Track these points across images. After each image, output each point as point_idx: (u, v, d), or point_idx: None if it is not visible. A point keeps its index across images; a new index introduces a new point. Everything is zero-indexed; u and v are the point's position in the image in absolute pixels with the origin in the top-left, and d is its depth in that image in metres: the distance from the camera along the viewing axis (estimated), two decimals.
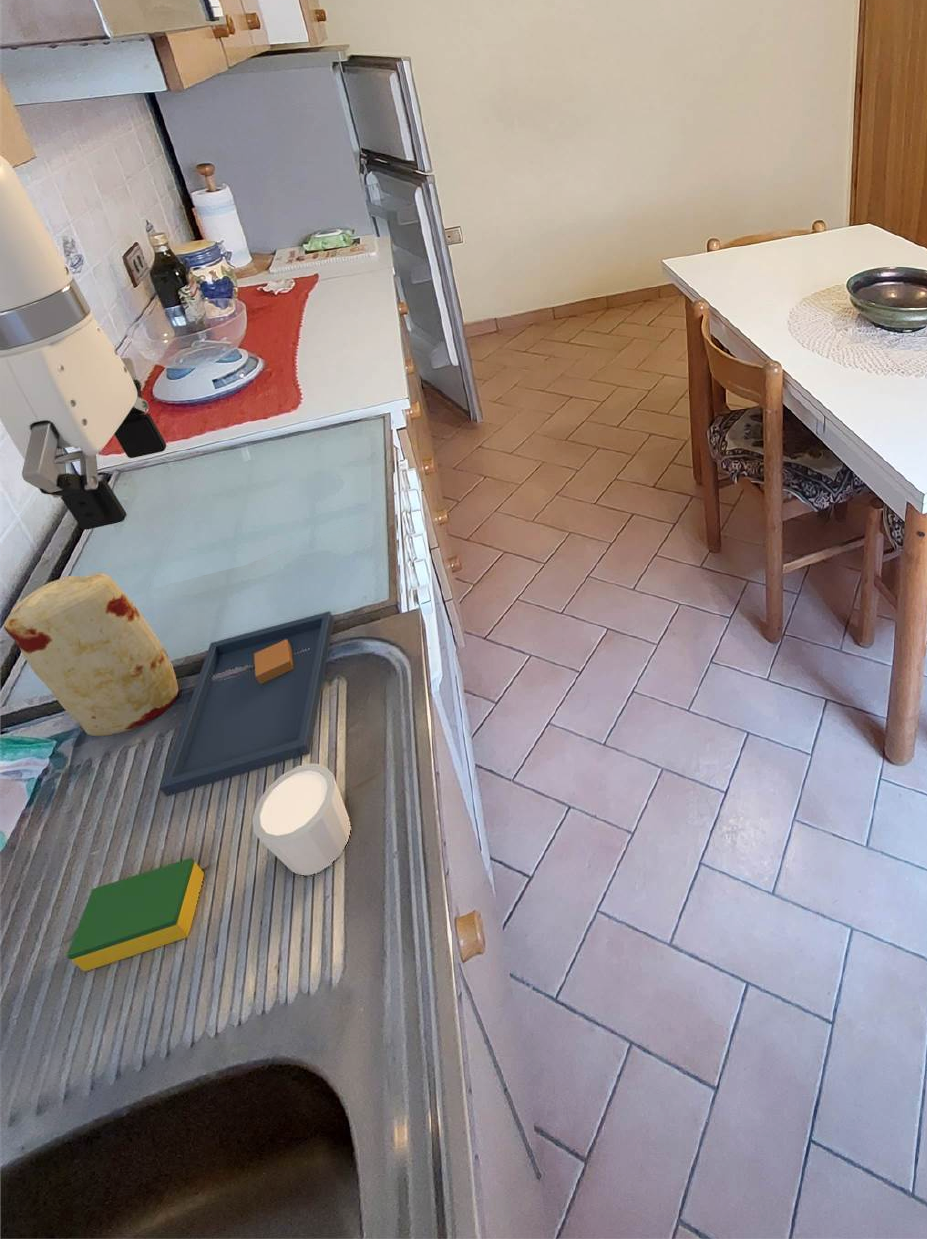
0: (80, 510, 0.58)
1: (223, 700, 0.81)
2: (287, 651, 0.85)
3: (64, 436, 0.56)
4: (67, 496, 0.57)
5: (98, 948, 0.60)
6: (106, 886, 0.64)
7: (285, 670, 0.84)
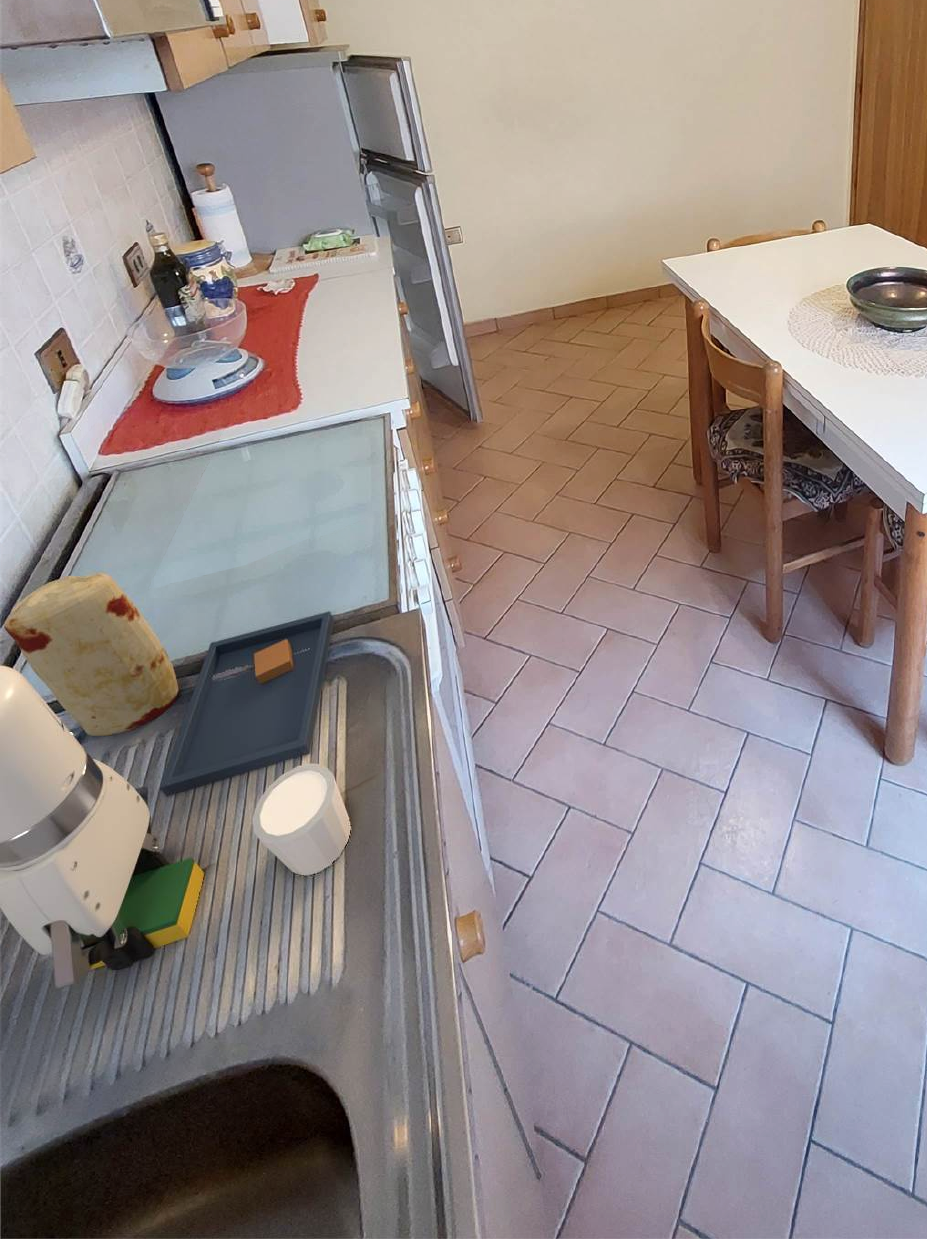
0: (109, 961, 0.59)
1: (223, 700, 0.81)
2: (287, 651, 0.85)
3: (77, 928, 0.55)
4: None
5: None
6: None
7: (285, 670, 0.84)
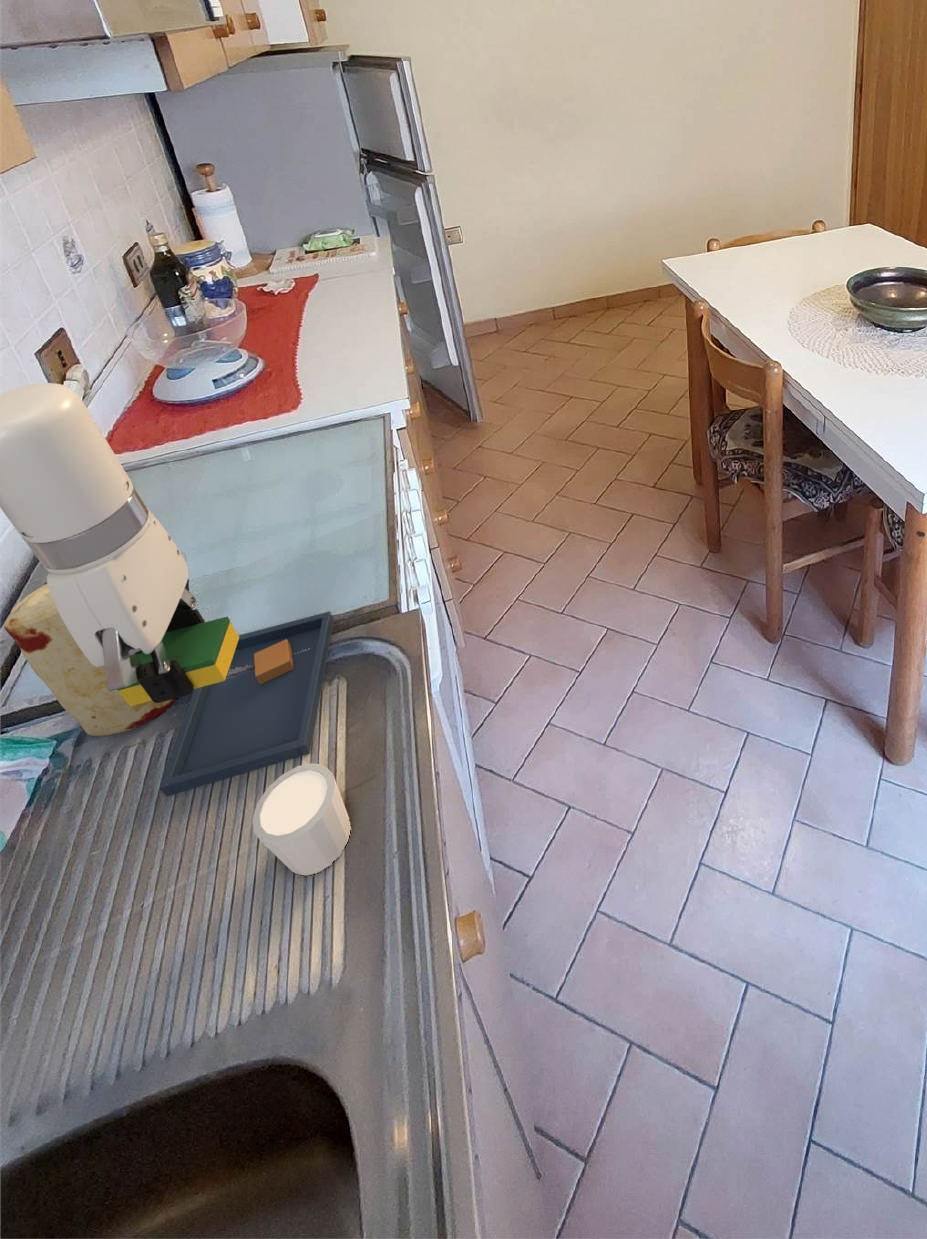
0: (154, 689, 0.64)
1: (223, 700, 0.81)
2: (287, 651, 0.85)
3: (126, 640, 0.59)
4: (143, 679, 0.63)
5: None
6: None
7: (285, 670, 0.84)
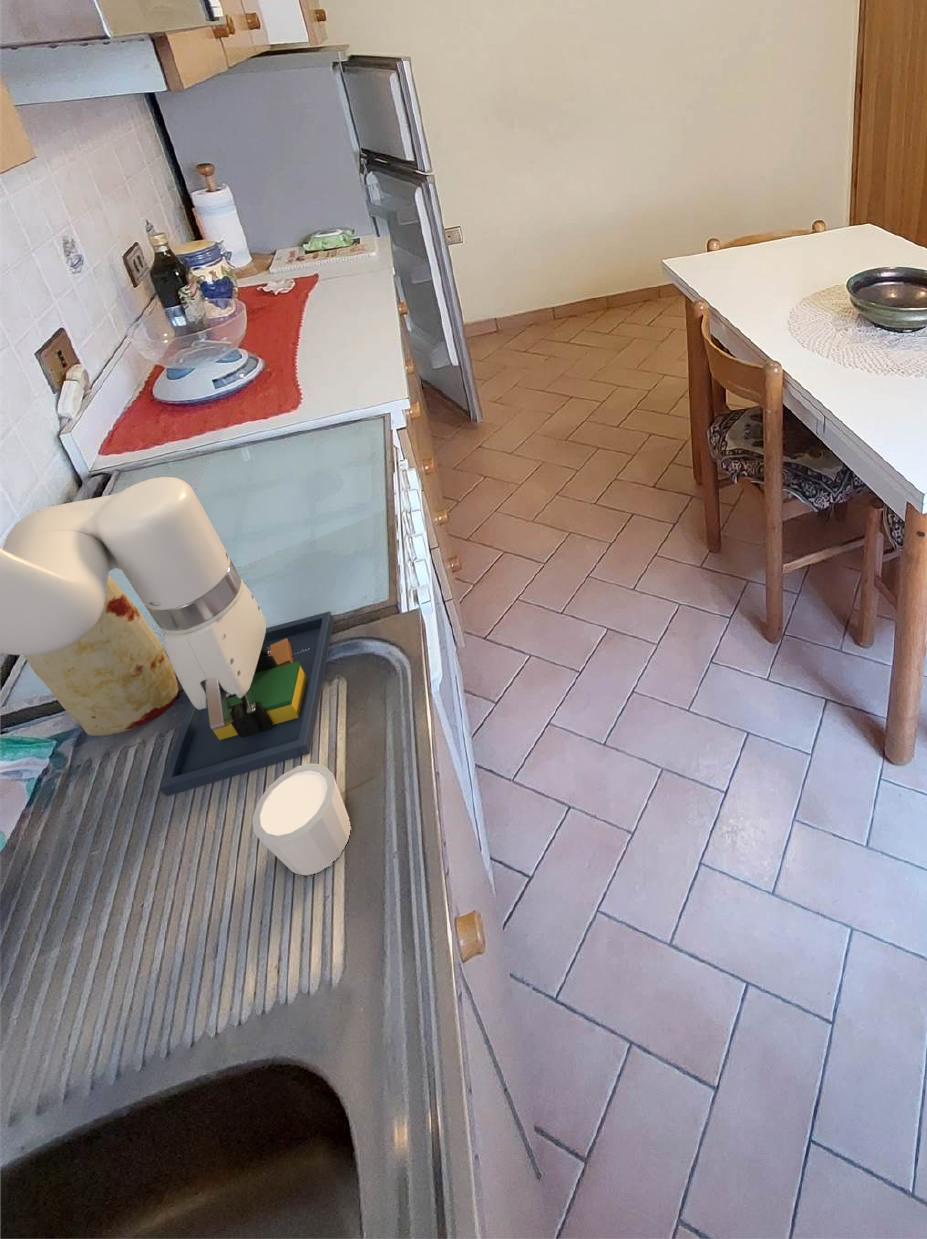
0: (241, 726, 0.75)
1: None
2: (287, 650, 0.85)
3: (224, 687, 0.71)
4: None
5: None
6: None
7: None
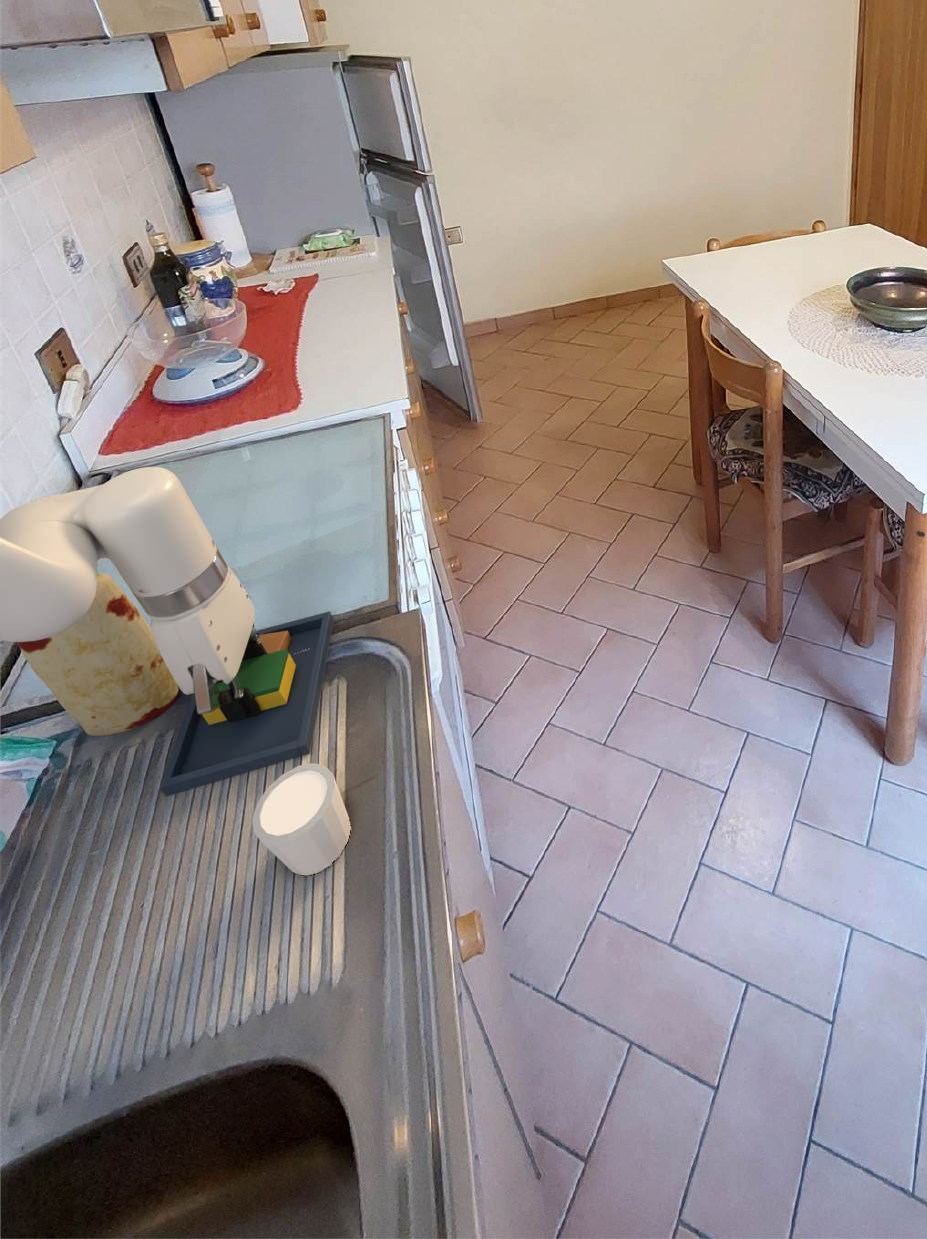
0: (230, 712, 0.77)
1: None
2: (280, 644, 0.86)
3: (211, 673, 0.72)
4: None
5: None
6: None
7: None
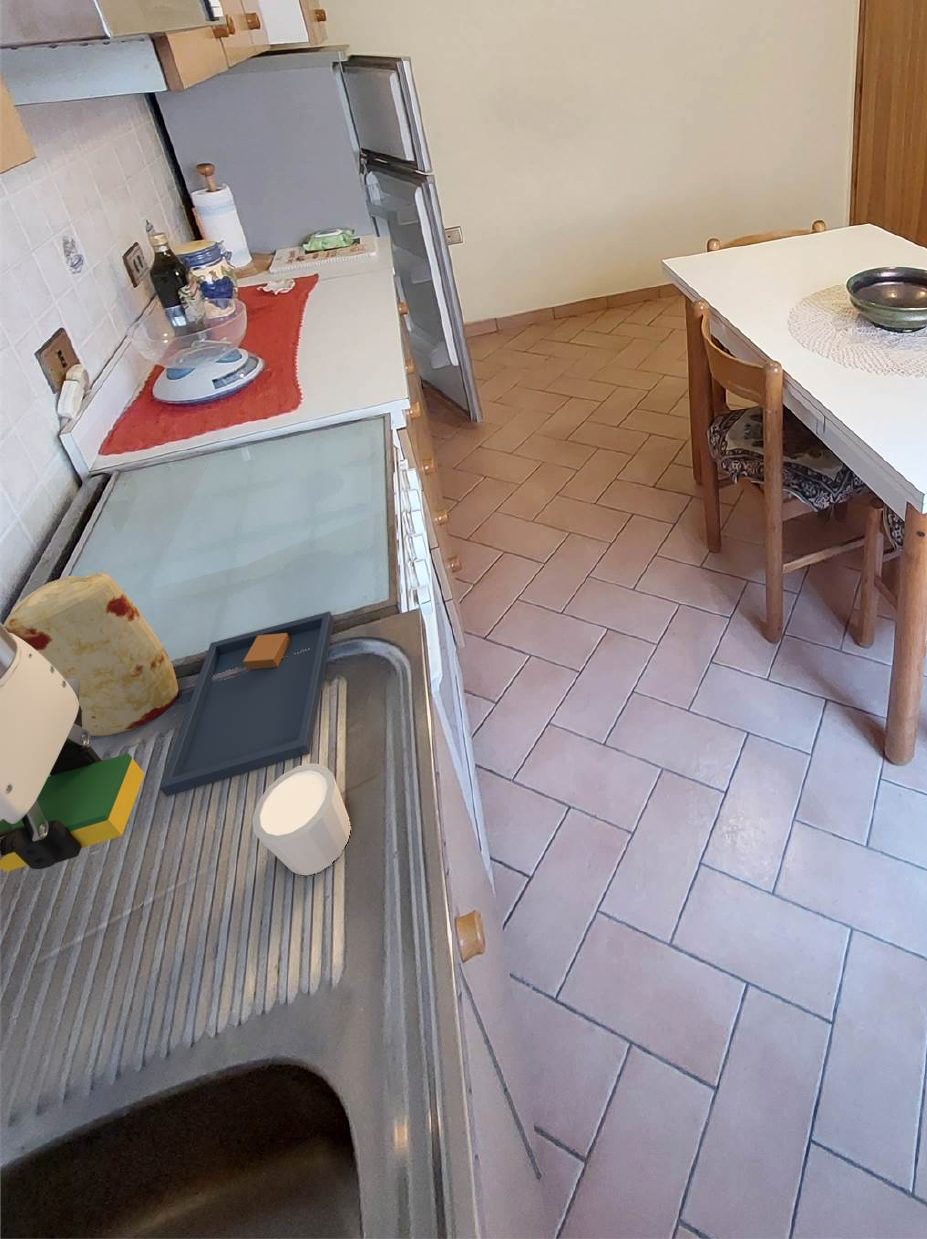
0: (29, 857, 0.53)
1: (223, 700, 0.81)
2: (278, 647, 0.85)
3: None
4: None
5: None
6: None
7: (270, 666, 0.85)
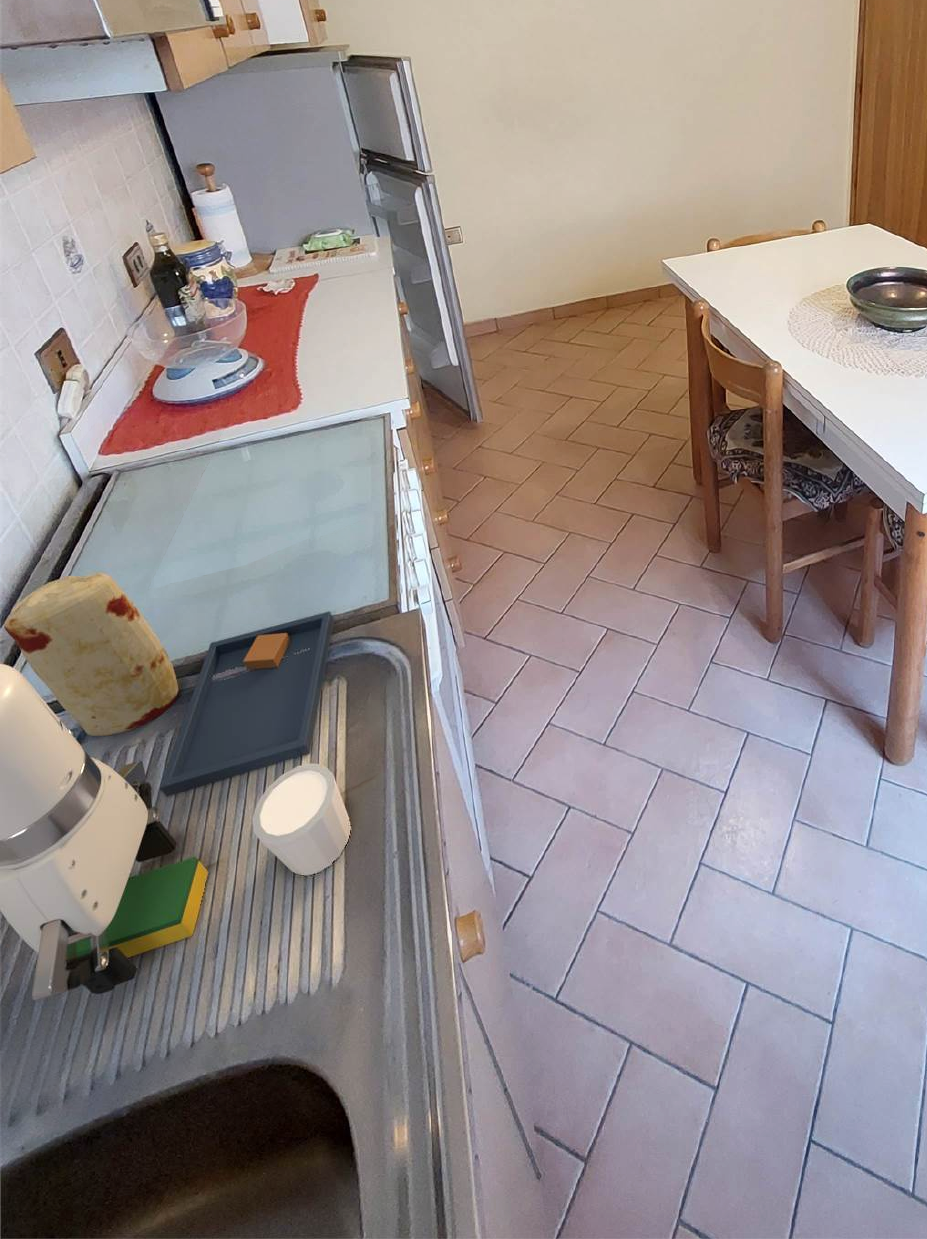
0: (90, 984, 0.57)
1: (223, 700, 0.81)
2: (278, 647, 0.85)
3: (75, 927, 0.55)
4: None
5: None
6: None
7: (270, 666, 0.85)
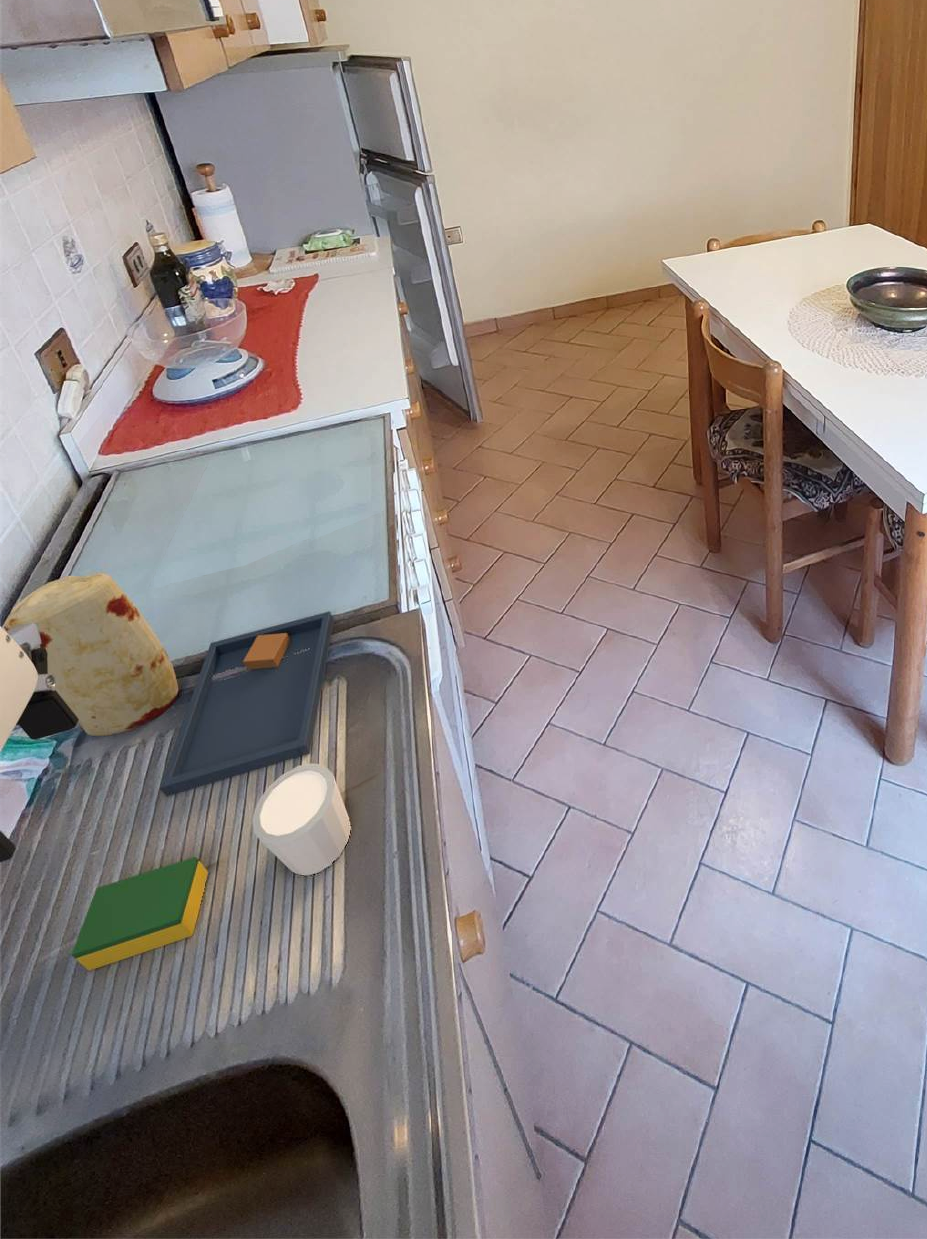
0: None
1: (223, 700, 0.81)
2: (278, 647, 0.85)
3: None
4: None
5: (103, 947, 0.60)
6: (110, 885, 0.64)
7: (270, 666, 0.85)
